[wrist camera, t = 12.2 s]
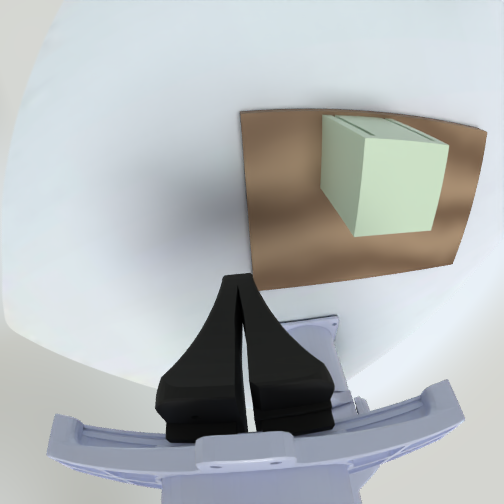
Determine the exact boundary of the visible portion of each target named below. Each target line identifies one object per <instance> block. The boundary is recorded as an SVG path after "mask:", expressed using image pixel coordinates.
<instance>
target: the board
mask: <svg viewBox="0 0 504 504" xmlns="http://www.w3.org/2000/svg"><path fill="white" fill-rule="evenodd" d="M322 115H332V116H334V117H335V115H347V116H364V117H377V118H383V119H385V118H388V119H393V120H396V121H398V122H401V123H403V124H405V125H408V126H410V127H412V128H414V129H417V130H419V131H421V132H423V133H425V134H427V135H430V136H432V137H434V138H436V139H438V140H440V141H442V142H444V143H446V144H448V145H449V151H448V157H447V163H446V168H445V174H444V179H443V184H442V188H441V193H440V197H439V201H438V206H437V210H436V214H435V217H434V221H433V225H432V228H431V231H419V232H407V233H396V234H384V235H372V236H361V237H354V236H353V235H352V233H351V232H350V230H349V229H348V227H347V226H346V224H345V223H344V221H343V220H342V218H341V217H340V215H339V214H338V212H337V211H336V210H335V208H334V207H333V205H332V204H331V202H330V201H329V199H328V198H327V197H326V195H325V194H324V192H323V191H322V190H321V188H320V184H321V158H322ZM240 118H241V131H242V143H243V156H244V169H245V182H246V194H247V207H248V220H249V232H250V245H251V257H252V270H253V279H254V282H255V284H256V286H257V288H258V291H263V290H272V289H281V288H290V287H299V286H308V285H316V284H324V283H332V282H340V281H347V280H355V279H362V278H369V277H376V276H383V275H390V274H396V273H403V272H409V271H415V270H421V269H427V268H433V267H439V266H445V265H451V264H453V261H454V259H455V256H456V253H457V251H458V248H459V245H460V242H461V239H462V236H463V233H464V230H465V227H466V224H467V221H468V218H469V214H470V211H471V207H472V204H473V200H474V196H475V192H476V188H477V184H478V180H479V175H480V171H481V166H482V161H483V155H484V150H485V143H486V137H487V132H486V131H484V130H481V129H479V128H475V127H471V126H467V125H462V124H457V123H452V122H447V121H442V120H436V119H431V118H424V117H418V116H410V115H403V114H394V113H385V112H374V111H361V110H342V109H274V110H255V111H241V112H240Z"/></svg>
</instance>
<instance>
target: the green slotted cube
mask: <svg viewBox="0 0 504 504" xmlns="http://www.w3.org/2000/svg"><path fill="white" fill-rule="evenodd" d="M448 151H449V145H448V144H446V143H444V142H442V141H440V140H438V139H436V138H434V137H432V136H430V135H427V134H425V133H423V132H421V131H419V130H417V129H414V128H412V127H410V126H408V125H405V124H403V123H401V122H398V121H396V120H393V119H388V118H385V119H383V118H377V117H364V116H347V115H335V117H334V116H332V115H322V158H321V184H320V188H321V190H322V191H323V192H324V194H325V195H326V197H327V198H328V199H329V201H330V202H331V204H332V205H333V207H334V208H335V210H336V211H337V212H338V214H339V215H340V217H341V218H342V220H343V221H344V223H345V224H346V226H347V227H348V229H349V230H350V232H351V233H352V235H353V236H354V237H361V236H372V235H384V234H396V233H407V232H419V231H431V228H432V225H433V221H434V217H435V214H436V210H437V206H438V201H439V197H440V193H441V188H442V184H443V179H444V174H445V168H446V163H447V157H448Z"/></svg>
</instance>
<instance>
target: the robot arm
mask: <svg viewBox="0 0 504 504" xmlns="http://www.w3.org/2000/svg"><path fill="white" fill-rule="evenodd" d="M338 324H339V317H338V316H332V317H326V318H319V319H312V320H304V321H297V322H289V323H281V324H280V323H279V322H278V320H277V319H276V318H275V316H274V315H273V314H272V312H271V311H270V309H269V308H268V306H267V305H266V303H265V301H264V300H263V298H262V296H261V294H260V293H259V291H258V288H257V286H256V284H255V282H254V279H253V275H252V274H251V273H245V274H234V275H225V276H224V277H223V279H222V283H221V287H220V290H219V293H218V296H217V298H216V301H215V303H214V306H213V308H212V310H211V312H210V314H209V316H208V318H207V320H206V322H205V324H204V326H203V327H202V329H201V331H200V332H199V334H198V335H197V337H196V338H195V340H194V341H193V343H192V344H191V345H190V347H189V348H188V349H187V351H186V352H185V353H184V354H183V355H182V357H181V358H180V359H179V360H178V361H177V362H176V363H175V365H174V366H173V367H172V368H170V369H169V370H168V371H167V372H166V373H165V374H164V375H163V376H162V377H161V380H160V383H159V386H158V390H157V394H156V405H155V409H156V411H157V412H158V413H159V415H160V416H161V417H162V418H163V419H164V420H165V421H166V434H160V433H145V432H134V431H124V430H116V429H109V428H102V427H95V426H89V425H84V424H83V423H82V422H81V421H79V420H78V419H76V418H74V417H71V416H65V415H60V414H55V416H54V420H53V425H52V429H51V434H50V439H49V444H48V449H47V454H46V455H47V456H48V457H49V458H51V459H53V460H55V461H57V462H59V463H61V464H63V465H65V466H67V467H69V468H71V469H73V470H76V471H79V472H82V473H86V474H90V475H94V476H98V477H102V478H106V479H110V480H115V481H119V482H123V483H128V484H133V485H139V486H145V487H150V488H158V489H162V504H362V501H361V496H360V492H359V490H360V489H361V488H362V487H363V486H364V484H365V483H366V482H367V481H368V480H369V479H370V478H371V477H372V476H373V474H374V473H375V472H376V471H377V470H378V468H379V467H380V464H383V463H386V462H388V461H391V460H394V459H396V458H399V457H401V456H403V455H406V454H408V453H411V452H413V451H415V450H418V449H420V448H422V447H424V446H426V445H429V444H431V443H433V442H435V441H437V440H440V439H441V438H443V437H444V436H446V435H447V434H448V433H450V432H451V431H452V430H454V429H455V428H456V427H458V426H459V425H460V424H461V423H463V422H464V421H465V417H464V415H463V412H462V410H461V407H460V405H459V403H458V400H457V398H456V396H455V394H454V391H453V389H452V387H451V385H450V383H449V381H448V380H447V379H446V380H444V381H441V382H439V383H436V384H433V385H431V386H429V387H427V388H426V389H425V390H424V391H423V392H422V393H421V395H420V396H417V397H414V398H411V399H408V400H405V401H403V402H400V403H396V404H393V405H390V406H387V407H383V408H380V409H376V410H373V411H370V410H369V407H368V404H367V401H366V400H365V399H362V398H360V397H356V398H354V400H355V404H356V409H355V405H354V402H353V399H352V396H351V392H350V390H349V389H348V386H347V382H346V379H345V376H344V373H343V369H342V366H341V363H340V360H339V357H338V354H337V350H336V347H335V344H334V340H335V336H336V332H337V328H338ZM243 327H244V332H245V337H246V342H247V355H248V370H249V383H250V390H251V396H252V402H253V411H254V420H255V425H256V430H257V432H248V426H247V416H246V406H245V396H244V385H243V373H242V330H243ZM356 410H357V412H356ZM357 413H358V414H357Z"/></svg>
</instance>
